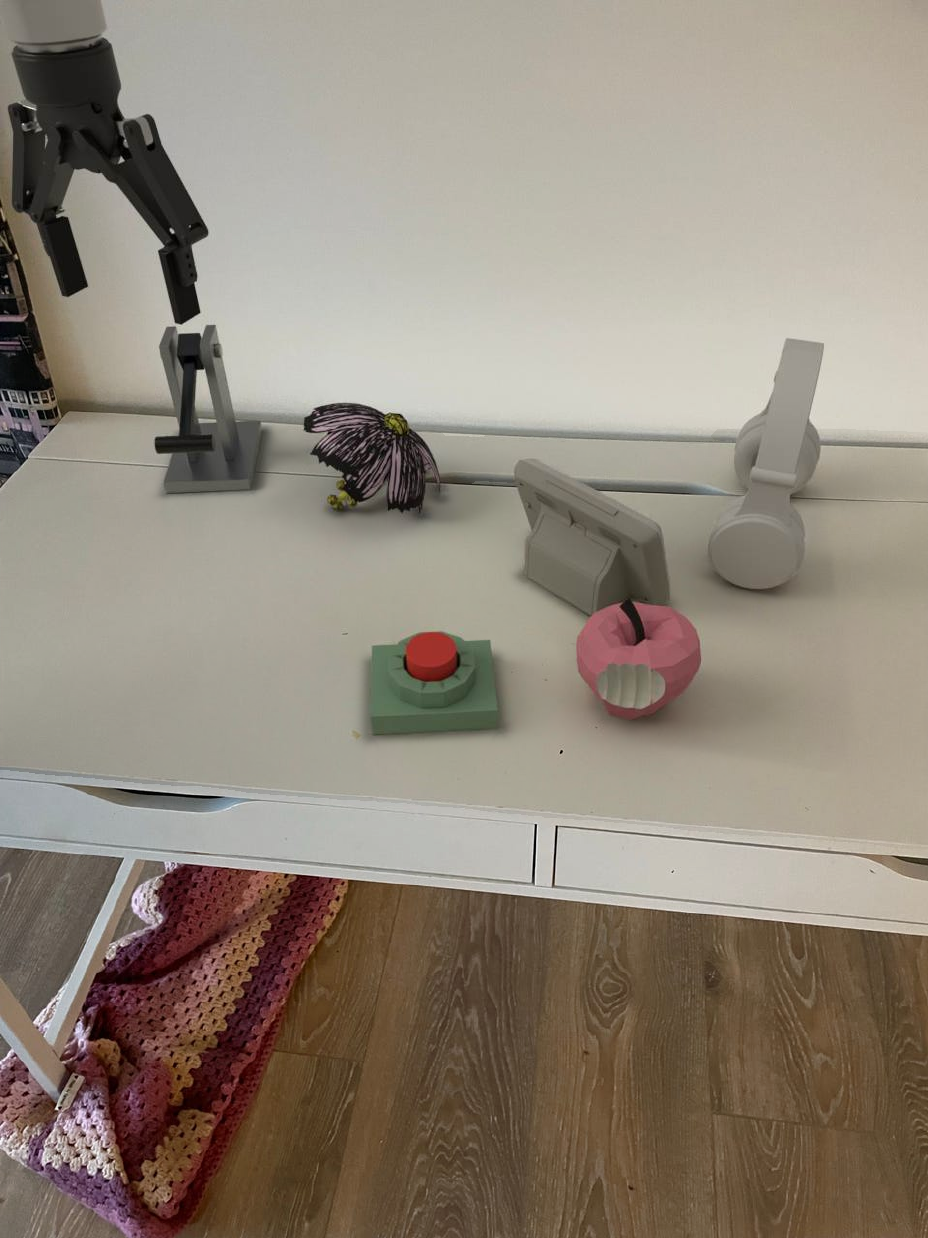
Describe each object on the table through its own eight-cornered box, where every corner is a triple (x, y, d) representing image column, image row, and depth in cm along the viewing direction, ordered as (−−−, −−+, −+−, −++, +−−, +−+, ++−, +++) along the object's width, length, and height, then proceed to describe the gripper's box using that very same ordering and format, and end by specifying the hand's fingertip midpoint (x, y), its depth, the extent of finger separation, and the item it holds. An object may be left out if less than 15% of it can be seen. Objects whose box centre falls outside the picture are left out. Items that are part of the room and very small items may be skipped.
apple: (559, 727, 75) (567, 637, 68) (584, 654, 81) (593, 565, 74) (680, 756, 73) (700, 666, 66) (696, 679, 79) (716, 588, 72)
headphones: (730, 469, 101) (767, 296, 88) (810, 483, 99) (860, 308, 86) (698, 582, 88) (736, 397, 74) (791, 602, 85) (847, 415, 72)
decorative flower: (452, 457, 86) (296, 402, 85) (416, 566, 91) (269, 516, 91) (467, 416, 99) (332, 369, 98) (434, 514, 104) (306, 470, 103)
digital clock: (679, 608, 85) (697, 513, 78) (601, 647, 81) (612, 551, 74) (568, 519, 95) (575, 428, 88) (495, 551, 92) (496, 458, 84)
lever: (216, 456, 92) (210, 443, 90) (159, 459, 92) (152, 445, 90) (221, 347, 97) (216, 331, 95) (168, 349, 97) (161, 333, 95)
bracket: (250, 489, 100) (224, 361, 90) (165, 493, 100) (130, 365, 90) (262, 430, 109) (239, 307, 99) (184, 433, 108) (153, 310, 98)
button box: (372, 735, 75) (368, 701, 72) (373, 663, 80) (370, 629, 78) (497, 728, 75) (498, 694, 72) (490, 657, 81) (490, 623, 78)
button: (407, 683, 74) (406, 668, 72) (406, 648, 77) (405, 632, 75) (458, 681, 74) (457, 665, 73) (455, 645, 77) (455, 630, 76)
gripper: (218, 44, 71) (263, 313, 85) (-17, 18, 79) (60, 266, 94) (152, 66, 66) (211, 347, 80) (-92, 36, 74) (2, 295, 89)
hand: (130, 304), depth 87 cm, fingers open, 13 cm apart
